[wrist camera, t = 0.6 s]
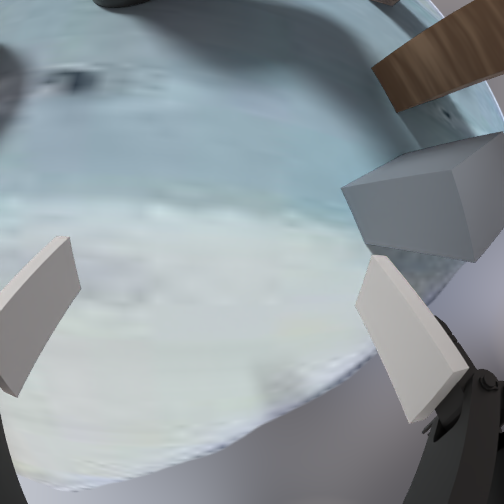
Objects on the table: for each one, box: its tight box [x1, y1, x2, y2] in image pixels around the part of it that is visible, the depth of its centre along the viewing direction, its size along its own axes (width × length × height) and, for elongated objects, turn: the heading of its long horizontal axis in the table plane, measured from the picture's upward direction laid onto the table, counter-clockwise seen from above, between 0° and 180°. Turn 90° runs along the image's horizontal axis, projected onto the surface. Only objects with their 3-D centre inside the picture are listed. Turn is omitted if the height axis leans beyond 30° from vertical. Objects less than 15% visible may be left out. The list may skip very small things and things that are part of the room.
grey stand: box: [341, 131, 504, 263], centre depth 27 cm, size 13×8×18 cm, turn 118°
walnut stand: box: [371, 0, 504, 113], centre depth 21 cm, size 14×8×28 cm, turn 118°
